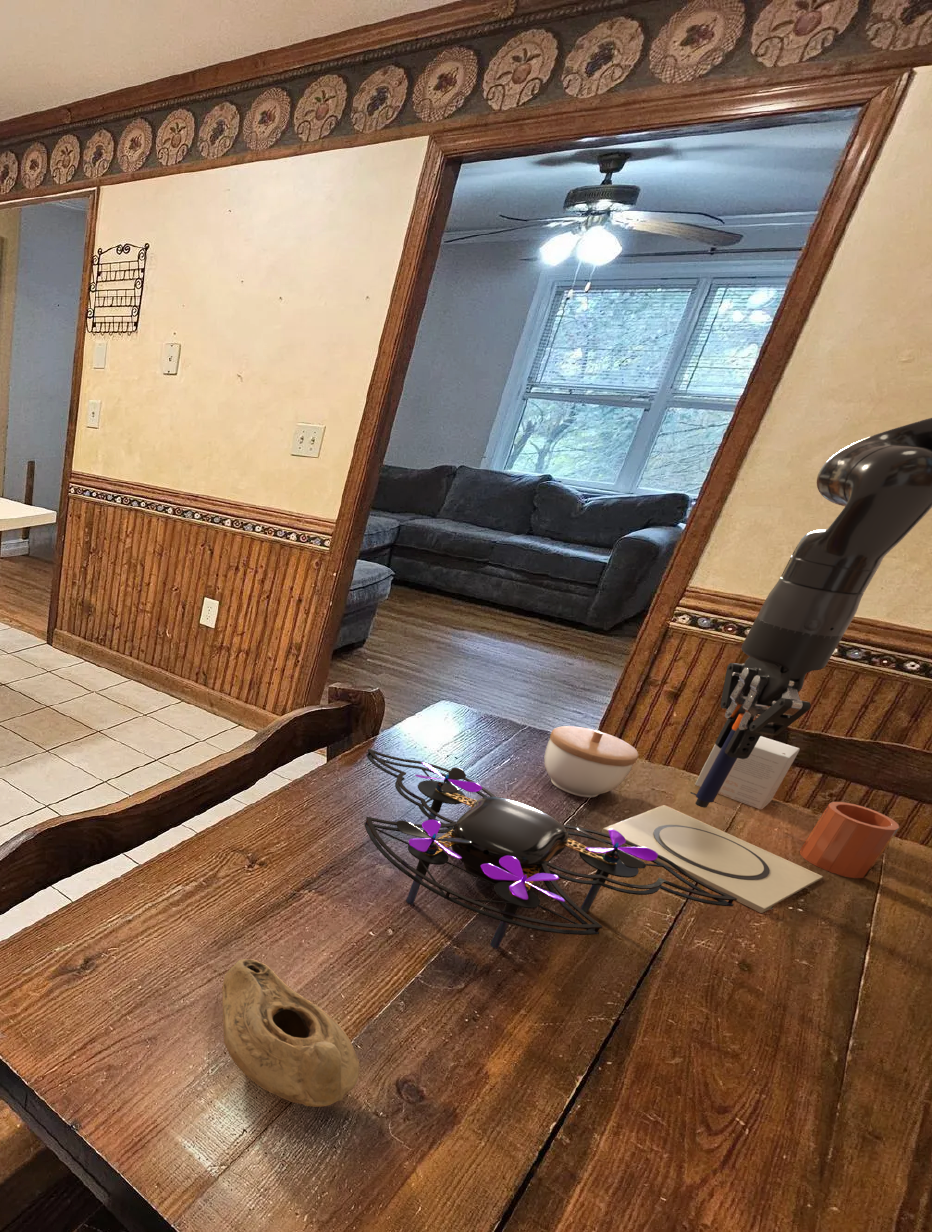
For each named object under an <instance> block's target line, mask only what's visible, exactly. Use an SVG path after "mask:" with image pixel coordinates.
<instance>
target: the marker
mask: <svg viewBox="0 0 932 1232" xmlns="http://www.w3.org/2000/svg"><path fill="white" fill-rule="evenodd" d="M743 716H744V714H743V713H741V714H739V715H738V717H737V719H736V721H735V723H734V725H733V726H732V729H731V731H730V733H729V735H728V737H727V739H726V741H725V742H724V744H723V746H722V748H721V750H720V752H719V754H718V755H717V757H716V759H715V761H714V763H713V765H712V767H711V768H710V770H709V772H708V774H707V776H706V778H705V780H704V781H703V783H702V785H701V787H699V789H698V791H697V792H696V793H695V794H696V795H695V797H696V798H697V799H696V801H695V806H697V807H700V808H704V809H705V808H708V806H709V804H710V803H714V802H715V799H716V798H717V796H718V795H719V794H718V792H719V791H720V789H721V787H722V785H723V783H724V781H725V780H726V778H727V776H728V774H729V772H730V771H731V769H732V767H733V765H734V763H735V762H736V760H737V758H734V757H729V756H728V755H727V754H726V753H725V750H726V748H727V746H728V744H729V742H730V740H731V739H732V737H733V735H734V733H735V731H736V729H737V728H739V724H740V722H741V720H742V718H743ZM756 718H758V716H756V717H754V720H755V719H756ZM754 720H753V721H754Z"/></svg>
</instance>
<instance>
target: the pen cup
mask: <svg viewBox="0 0 932 1232" xmlns="http://www.w3.org/2000/svg"><path fill="white" fill-rule="evenodd" d="M899 829H900V825H899V823H898V822H897V821H895V820H894V819H893V818H891V817H890V816H887V815H885V814H884V813H882V812H880V811H876V810H874V809H871V808H869V807H866V806H862V805H859V804H855V803H851V802H850V803H849V802H845V801H832V802H830V803H828V804H827V806H826V808H825V809H824V811H823V812H822V813H821V815H820V817H819V818H818V821H817V822H816V823H815V826H814V827H813V829H812V830H811V831H810V833H809V835H808V837H807V838H806V839H805V841H804V843H803V844H802V846H801V847H800V849H799V855H800V856H801V857H802V858H803V859H804V860H805V861H807V862H808V863H810V864H812V865H813V866H815V867H816V868H820V869H821V870H824V871H826V872H829V873H831V874H834V875H838V876H841V877H845V878H850V879H863V878H865V877H867V876H868V874H869V873H870V872H871V871H872V869H871V868H874V866H875V864H876V863H877V861H878V860H879V859H880V857H881V855H882V854H883V853H884V851H885V850H886V848H887V847H888V845H889V844H890V843H891V841H892V839H893V838H894V837H895V835H896V834H897V832H898V830H899Z"/></svg>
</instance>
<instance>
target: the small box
mask: <svg viewBox="0 0 932 1232" xmlns="http://www.w3.org/2000/svg"><path fill="white" fill-rule="evenodd" d="M720 750H721V748H719V747H718V746H717V745H716V744H715V743H714V746H713V747H712V749H711V751H710V753H709V755H708V757H707V759H706V761H705V763H704V765H703V767H702V769H701V771H700V773H699V775H698V777H697V779H696V781H695V783H694V786H697V787H699V788H700V787H701V785H702V783H703V781H704V780H705V778H706V776H707V774H708V772H709V770H710V768H711V767H712V765H713V763H714V761H715V759H716V757H717V755H718V754H719V752H720ZM799 752H800V747H796V746H794V745H790V744H786V743H784V742H781V741H778V740H774V739H772V738H768V737H765V736H763V735H761V736H760V738H759V740H758V741H757V743H756V745H755V747H754V749H753V750H752V752H751V754H750V756H749V757H748V758H746V759H740V758H737V760H736V762H735V763H734V765H733V767H732V769H731V771H730V772H729V774H728V776H727V778H726V780H725V781H724V783H723V785H722V787H721V789H720V791H719V792H718V794H717V795H721V796H724V797H727V798H729V799H731V800H734V801H737V802H739V803H741V804H745V805H747V806H749V807H751V808H756V809H758V810H763V809H764V808H765V807H767V806H768V805H769V804H770V803H771V802H772V801H773V799H774V797H775V795H776V793H777V791H778V790H779V788H780V786H781V784H782V783H783V780H784V778H785V777H786V775H787V773H788V772H789V770H790V768H791V766H792V765H793V763H794V761H795V760H796V757H797V755H798V754H799ZM689 792H690V794H692V795H694V796H696V794H697V793H694V792H692V791H689ZM713 803H714V804H718V805H719V803H718V802H715V801H713ZM721 806H722V807H724V805H722V804H721Z"/></svg>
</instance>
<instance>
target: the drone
mask: <svg viewBox="0 0 932 1232" xmlns="http://www.w3.org/2000/svg"><path fill="white" fill-rule="evenodd" d="M367 751H368V752H367V753H366V755H365V756H366V757H367V759H368V760H369V761H370V763H372V765H374V766H375V767H376V768H378V769H379V770H381V771H382V772H384V773H386V774H388V775H390V776H391V777H394V778H396V780H395V783H394V786H395V790H396V792H398V793H399V795H400V796H401V797H403V799H405V800H407V801H408V802H410V803H411V804H413V805H415V806H417V807H418V808H419V810H420V811H421V813H422V814H423V815H424V816H425V817H427V820H424V821H423V822H421V823H412V822H409V821H407V820H403V819H401V820H396V821H392V820H386V819H381V818H376V817H371V816H366V817H365V820H366V821H365V822H364V827H365V830H366V833H367V835H368V837H369V839H370V841H371V842H372V844H373V845H374V846H375V848H376V849H377V850H378V851H379V852H380V854H382V855H383V857H384V858H385V859H386V860H387V861H388V862H390V863H391V864H392V865H393V866H394V867H396V869H398V870H399V871H400V872H401V873H403V874H404V875H406V877H408V878H410V879H411V880H412V882H411V885H410V888H409V890H408V894H407V897H406V899H405V902H406V903H408V904H410V905H414V903H415V901H416V898H417V896H418V893H419V890H420V888H421V886H422V887H423V888H425V889H426V890H429V891H430V892H432V893H434V894H436V895H438V896H439V897H441V898H443V899H445V900H447V901H449V902H451V903H453V904H456V905H457V906H460V907H462V908H464V909H467V910H470V911H472V912H474V913H477V914H480V915H482V916H485V917H488V918H491V919H494V920H497V921H499V923H498V925H497V927H496V930H495V931H494V933H493V936H492V938H491V941H490V943H489V945H490V946H491V947H492V948H493V949H499V948H500V946H501V944H502V941H503V939H504V936H505V934H506V932H507V930H508V928H509V926H510V924H511V925H514V926H517V927H521V928H525V929H530V930H536V931H540V932H545V933H552V934H560V935H570V936H571V935H574V936H593V935H594V936H595V935H600V929H603V924H600V923H599V921H597V920H595V919H594V918H593V917H591V916H590V914H587V913H589V912H590V910H591V907H592V905H593V904H594V902H595V899H596V898H597V895H598V893H599V891H600V890H601V887H602V888H606V889H609V890H611V891H615V892H618V893H622V894H623V893H624V894H628V895H634V896H635V895H636V896H649V895H653V894H656V893H657V892H659V890H662V891H664V892H667V893H670V894H672V895H674V896H678V897H681V898H684V899H687V900H690V901H694V902H697V903H702V904H705V905H711V906H721V907H734V901H736V900H737V898H735V897H733V896H731V895H728V894H726V893H724V892H721V891H719V890H717V889H715V888H713V887H711V886H709V885H707V884H705V883H703V882H701V881H700V880H698V879H696V878H695V877H693V876H691V875H690V874H688V873H687V872H685V871H684V870H683V869H681V868H680V867H679V866H677V865H676V864H675V863H673V862H672V861H670V860H668V859H667V858H665V857H663V856H661V855H659V854H658V853H656V852H655V851H654V850H652V849H649V848H645V847H641V846H639V845H636V844H634V843H631V842H629V841H626V839H625V838H624V836H623V835H622V834H621V833H619V832H618V831H616V830H614V829H609V830H608V832H609V835H608V834H605V833H602V831H597V830H593V829H589V828H585V827H580V826H575V825H568V824H562V822H561V821H559V820H557V819H556V818H554V817H553V816H552V815H549V814H548V813H546V812H544V811H542V810H540V809H538V808H535V807H533V806H531V805H528V804H525V803H523V802H521V801H516V800H514V799H511V798H505V797H500V796H496V795H495V794H494V793H492V792H491V791H490V790H488V789H487V788H486V787H484V786H482V785H480V784H479V783H477V782H475V781H474V780H472V779H470V778H468V777H467V774H466V772H465V771H464V770H463V769H462V768H460V767H455V766H454V767H452V768H451V769H447V768H444V767H442V766H439V765H436V764H432V763H429V762H425V761H423V760H422V761H421V760H414V759H408V758H401V757H396V756H393V755H389V754H385V753H382V752H379V751H376V750H373V749H371V748H367ZM378 756H380V757H381V758H380V757H378ZM382 757H383V758H384V759H383V758H382ZM385 758H387V759H390V760H394V761H390V760H387V759H385ZM395 761H399V762H395ZM400 762H404V763H400ZM405 763H411V764H412V765H411V764H405ZM380 764H381V765H380ZM413 764H417V765H413ZM392 765H393V766H392ZM394 766H398V767H403V768H408V769H409V768H410V769H416V770H421V771H422V772H423V773H424V774H425V775H422V774H414V776H415V777H417V778H420V779H427V780H423V781H420V782H419V783H418V784H417V789H418V791H419V792H420V794H422V795H423V796H425V797H427V798H429V799H427V800H426V799H425V798H423V797H420V796H418V795H416V794H415V793H413V792H412V791H410V790H409V789H408V788H407V787H406V786H405V785H404V783H403V781H404V780H405V777H404V776H406V775H407V772H406V771H404V770H401V769H399V768H396V767H394ZM385 767H386V768H387V769H386V768H385ZM388 769H390V770H391V771H390V770H388ZM439 770H440V771H443V772H445V773H447V774H445V773H443V772H439ZM394 772H396V773H394ZM427 772H429V773H431V774H436V775H437V776H439V777H440V778H439V777H434V776H430V774H428V773H427ZM397 773H398V774H397ZM437 780H438V781H437ZM442 780H443V781H442ZM459 788H460V789H462V790H463V791H466V792H468V793H476V794H477V795H479V796H480V797H481V798H479V799H473V798H471V797H468V796H466V795H465V793H464V792H463V791H461V790H460V789H459ZM408 795H409V796H408ZM411 797H412V798H411ZM413 798H414V799H416V800H418V801H416V800H414V799H413ZM419 801H420V802H419ZM431 801H432V803H431V806H430V805H428V803H429V802H431ZM443 804H447V805H461V804H464V805H466V806H468V807H470V809H468V810H467V811H466V812H464V813H463V814H462V815H461V816H460V817H459V818H458V819H457V820H456V821H455V820H452V819H449V818H447V817H445V816H443V815H441V814H440V811H441V808H442V806H443ZM437 818H438V819H437ZM439 819H440V820H442V821H444V822H442V821H440V820H439ZM373 822H376V823H380V824H376V823H373ZM445 822H446V823H445ZM381 824H385V825H381ZM387 825H391V826H387ZM393 826H396V827H393ZM567 829H568V830H567ZM383 830H387V831H391V832H397V833H399V832H400V833H402V834H404V835H406V836H411V838H410V839H408V842H407V841H405V840H403V839H401V838H398V837H397V836H394V835H392V834H390V833H388V832H385V831H383ZM569 830H574V831H569ZM575 830H576V831H578V832H576V831H575ZM378 832H379V833H381V834H384V835H385V836H387V837H389V838H392V839H394V840H396V841H397V842H401V843H402V844H405V845H407V850H408V852H409V854H411V856H412V857H414V858H416V859H417V860H418V863H417V865H416V868H414V867H413V866H411V865H410V864H409V863H408V862H406V861H405V860H404V859H402V857H400V856H399V855H398V854H396V853H395V851H394V850H392V849H391V848H390V846H388V845H387V844H386V842H385V841H384V840H383V838H382V837H381V836H380V835H379V833H378ZM438 834H443V835H441V836H440V837H438V838H437V835H438ZM593 834H594V835H593ZM595 835H597V836H601V837H605V838H608V839H610V840H608V839H604V838H601V837H597V836H595ZM569 836H575V837H580V838H585V839H589V840H592V841H593V840H594V841H596V842H599V843H602V844H604V845H606V846H608V847H598V846H587V845H584V844H582V843H580V842H578V841H576V840H573V839H572V838H569ZM415 837H416V838H415ZM624 843H625V844H628V845H630V846H633V847H629V846H626V845H625V844H624ZM450 848H451V849H450ZM565 848H568V849H570V850H573V851H576V852H578V855H579V857H580V858H581V859H582V861H583V862H584V863H585V864H587V865H589V866H590V867H592V868H593V869H595V870H596V872H595V874H586V873H579V872H575V871H571V870H568V869H566V868H562V867H560V866H557V865H555V864H553V863H551V861H552V860H553V858H555V857H556V856H558V855H560V854H561V853H562V852H563V851H564V850H565ZM449 856H451V857H453V858H455V859H458V860H459V861H460V862H462V865H463V867H461V866H459V865H456V864H454V863H452V862H449V859H450V857H449ZM657 858H659V859H661V860H663V861H665V862H667V863H668V864H670V865H671V866H672V867H674V868H675V869H676V870H678V871H679V873H680V874H679V873H678V871H676V870H674V869H672V868H670V867H668V866H666V865H664V864H662V863H660V862H658V861H657V860H656V859H657ZM645 861H647V862H652V863H645ZM445 864H447V865H449V866H452V867H454V868H455V869H457V870H459V871H462V872H464V873H466V874H468V875H471V876H473V877H474V878H477V879H479V880H481V881H483V882H485V883H487V884H490V885H492V886H494V888H493V889H494V892H495V894H496V895H497V896H498V897H499V898H500V899H502V900H503V901H501V900H489V899H478V898H470V897H467V896H466V895H463V894H460V893H458V892H457V891H454V890H453V889H450V888H448V887H446V886H444V885H443V884H440V883H438V881H437V880H436V879H435V877H434V876H433V875H432V873H431V872H430V870H429V867H430V865H433V866H434V865H435V866H441V865H445ZM403 866H404V867H403ZM646 867H657V868H663V869H664V870H666V871H667V872H668V873H670V874H671V875H672V876H674V877H675V878H676V879H678V880H679V881H680V882H682V883H683V884H685V885H687V886H688V887H685V886H682V885H679V884H676V883H674V882H671V881H669V880H666V879H664V878H662V877H658V878H657V880H656V881H655V882H653V883H648V884H634V883H628V882H623V881H619V880H615V879H613V878H609V875H610V876H614V877H617V878H618V877H619V878H623V879H628V878H629V879H630V878H631V879H632V878H634V877H635V878H636V877H637V876H638V874H639V873H640V872H639V869H645V868H646ZM405 868H406V869H405ZM549 868H551V869H553V870H556V871H558V872H555V871H553V870H551V869H549ZM408 870H409V871H408ZM410 871H411V872H412V873H413V874H412V873H411V872H410ZM559 872H561V873H563V874H567V875H570V876H573V877H577V878H573V877H570V876H566V875H563V874H561V873H559ZM427 874H428V875H429V877H428V876H426V875H427ZM682 875H683V876H685V877H686V878H688V879H689V880H690V881H689V880H687V879H685V878H684V877H683V876H682ZM579 878H581V879H579ZM559 879H561V880H565V881H568V882H572V883H576V884H580V885H588V886H589V885H591V886H590V888H589V889H588V892H587V894H586V896H585V898H584V900H583V901H582V905H581V906H579V905H577V904H576V903H575V902H574V901H573V900H572V899H571V898H570V897H569V896H568V895H567V894H566V892H565V891H564V890H563V889H562V888H561V886H560V885H559V884H558V882H557V880H559ZM585 879H586V880H585ZM587 879H589V880H587ZM423 880H424V881H426V882H427V883H426V882H424V881H423ZM691 881H692V882H691ZM534 882H543V884H544V885H545V887H546V888H547V890H546V889H544V888H542V887H539V886H537V885H534V884H533V883H534ZM606 882H609V883H611V884H614V885H617V886H614V885H610V884H608V883H606ZM693 882H694V883H696V884H698V885H700V886H701V887H703V888H705V889H707V890H708V891H711V892H713V893H714V894H713V893H712V894H711V893H710V892H708V891H706V890H705V889H702V888H700V887H698V886H697V885H695V884H693ZM429 884H431V885H432V886H431V885H429ZM663 884H665V885H667V886H670V887H671V888H675V889H678V890H681V891H684V892H686V893H690V894H693V895H697V896H700V897H696V896H692V895H690V894H689V895H688V894H686V893H682V892H680V891H676V890H674V889H671V888H669V887H667V886H664V885H663ZM433 886H434V887H433ZM618 886H621V887H625V888H629V889H625V888H621V887H618ZM435 887H436V888H437V889H436V888H435ZM531 887H532V888H534V889H536V890H538V891H539V892H541V893H543V894H545V895H547V896H549V897H550V898H553V899H555V900H556V901H557V902H558V903H559V904H560V905H561V906H562V908H563V909H565V910H566V911H567V912H568V914H570V915H571V916H572V917H573V918H574V919H575V920H577V921H578V922H579V923H578V922H576V921H574V920H572V919H570V918H568V917H567V916H563V915H561V914H559V913H558V912H556V911H554V910H551V909H549V908H547V907H546V906H543V905H541V899H540V898H539V896H538V895H537V894H536V893H535V892H534V891H532V890H531ZM689 887H690V888H689ZM634 889H636V890H634ZM637 889H638V890H637ZM715 893H716V894H715ZM701 897H705V898H709V899H705V898H701ZM710 899H712V900H710ZM462 901H464V902H467V903H469V904H467V903H464V902H462ZM736 902H737V901H736ZM485 903H492V904H493V903H494V904H503V905H504V904H505V905H504V907H503V909H500V908H498V907H494V906H492V905H491V906H490V905H488V904H485ZM567 903H568V904H569V905H568V904H567ZM470 904H472V905H470ZM473 905H475V906H477V907H475V906H473ZM570 906H571V907H570ZM478 907H480V908H482V909H484V910H482V909H480V908H478ZM519 908H523V909H526V910H527V909H528V910H529V909H531V910H533V909H536V908H540V909H541V910H544V911H546V912H548V913H550V914H553V915H554V916H556V917H559V918H561V919H563V920H565V921H567V922H568V923H567V922H557V921H550V920H544V919H539V918H533V917H529V916H525V915H521V914H517V912H518V910H519ZM485 910H488V912H487V911H485ZM489 911H491V912H493V913H491V912H489ZM494 913H497V914H500V915H501V916H500V915H497V914H494ZM579 914H580V915H579ZM581 916H582V917H583V918H582V917H581ZM514 919H517V920H520V921H517V920H514ZM586 920H587V921H588V922H589V923H588V922H587V921H586ZM523 921H525V922H526V923H525V922H523ZM527 922H529V923H527ZM531 923H534V924H531ZM535 924H539V925H535ZM540 925H543V926H540ZM547 926H548V927H547ZM555 927H556V928H555ZM563 928H564V929H563Z"/></svg>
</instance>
